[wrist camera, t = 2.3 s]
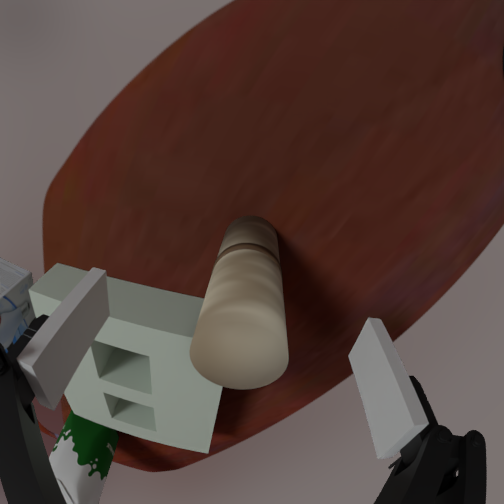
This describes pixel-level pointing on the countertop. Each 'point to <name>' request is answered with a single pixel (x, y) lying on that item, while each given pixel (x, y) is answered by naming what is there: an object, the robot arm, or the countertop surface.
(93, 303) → the robot arm
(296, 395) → the countertop surface
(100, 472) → the milk carton
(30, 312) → the light bulb box
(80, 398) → the board
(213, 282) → the peg
